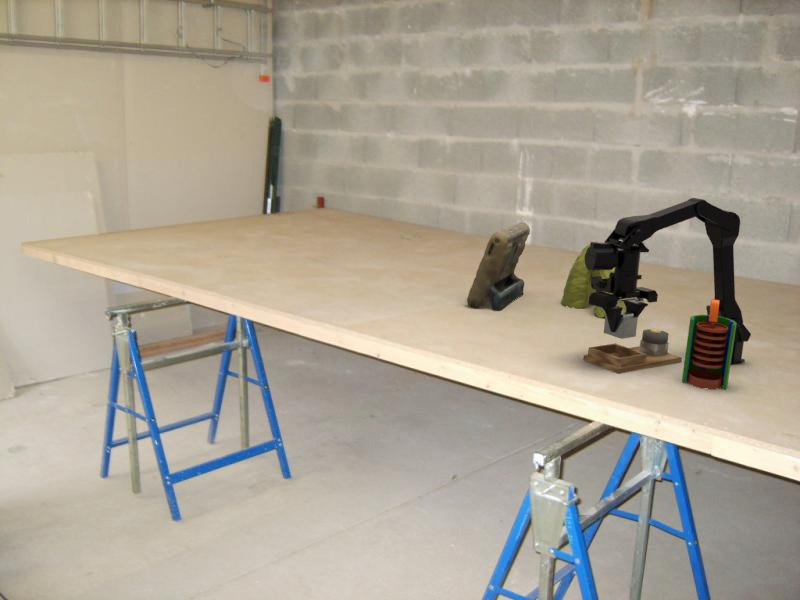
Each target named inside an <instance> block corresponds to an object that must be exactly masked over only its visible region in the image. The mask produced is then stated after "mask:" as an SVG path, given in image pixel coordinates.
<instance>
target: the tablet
mask: <svg viewBox="0 0 800 600" xmlns="http://www.w3.org/2000/svg"><path fill="white" fill-rule="evenodd" d="M530 231H531V229H530V226H529V225H528V224H527V223H526V222H524V221H522V222H518V223H517V224H515V225H513V226H509V227H507V228H504V229H502V230H500V231H499V230H497V231H495V232H494V233H492V234H491V235H490V238H489V240H488V242H487V244H486V248H485V249H484V251H483V252H484V254H483V256H482V258H481V260H480V262H479V265H478V268H477V271H476V274H475V277H474V279H473V282H472V284H471V287H470V289H469V292H468V295H467V298H466V301H467V306H468V307H470V308H472V309H478V308H481V307H482V306H483V305H484V304H485V302H486V299H488V300H490V302H491V308H492V310H493V311H496V312H498V311H502V310H503V309H504V308H506V307H507V305H508V304H509V303H511V302H512V301H513V300H515V299H516V298H518V297H519V298H521V297H522V296H523V295H524V287H525V281H524V279H522V278H519V277H518V276H517V275H516V274H515V270H516V268H517V265H518V263H519V260H520V258H519V257H520V256H522V254H523V252H524V250H525V248H526V242H527V241H528V240H527V239H528V237H529V235H530V234H531V233H530ZM519 298H518V299H519ZM516 300H517V299H516ZM516 300H515V301H516ZM513 302H514V301H513ZM513 302H512V303H513ZM512 303H511V304H512ZM509 305H510V304H509ZM509 305H508V306H509Z"/></svg>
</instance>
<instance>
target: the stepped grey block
mask: <svg viewBox="0 0 800 600" xmlns="http://www.w3.org/2000/svg"><path fill="white" fill-rule="evenodd" d="M638 318H639V316H638V317H636V316H634V314H633V313H630V312H627V311H623V310H622V312H621V315H620V318H619V322H618V325H617V328H616V330H615V332H611V331H610V327H609V323H608V320H607V316H606V315H605V316H604V325H603V327H604V328H603V333H604V334H606V335H610V336H612V337H614V338H619V339H621V340H623V339H629V338H636V335H637V329H638Z"/></svg>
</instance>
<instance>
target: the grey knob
mask: <svg viewBox="0 0 800 600" xmlns="http://www.w3.org/2000/svg"><path fill="white" fill-rule="evenodd" d="M669 336H670V335H669V333H668V332H667V331H664V330H660V329H655V328H650V329H648V328H647V329H644V330H643V331H642V336H641V340H643V341H644V342H647V343H652V344H666V343H669V342H668V341H669Z"/></svg>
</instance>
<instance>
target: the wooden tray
mask: <svg viewBox="0 0 800 600" xmlns="http://www.w3.org/2000/svg"><path fill="white" fill-rule="evenodd" d="M669 346H670V345H669V342H668V343H666V344H652V343H647V342H644V341H643V340H642V339H640V343H639V346H633V347H626V346H624V345H621V344H618V343H610V344H609V343H608V344H603V345H602V344H601V345H596V346H591V347H588V349H587V354H585V355H583V359H582V360H583V361H585V362H588V363H590V364H593V365H595V366H598V367H601V368H603V369H606V370H608V371H611V372H613V373H616V374H617V375H618V374H623V373H629V371H630V372H635V371H639V370H645V369H651V368H655V367H662V366H666V365H672V364H678V363H682V361H683V357H682V356H679V355H676V354H673V353H670V352H669Z"/></svg>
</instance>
